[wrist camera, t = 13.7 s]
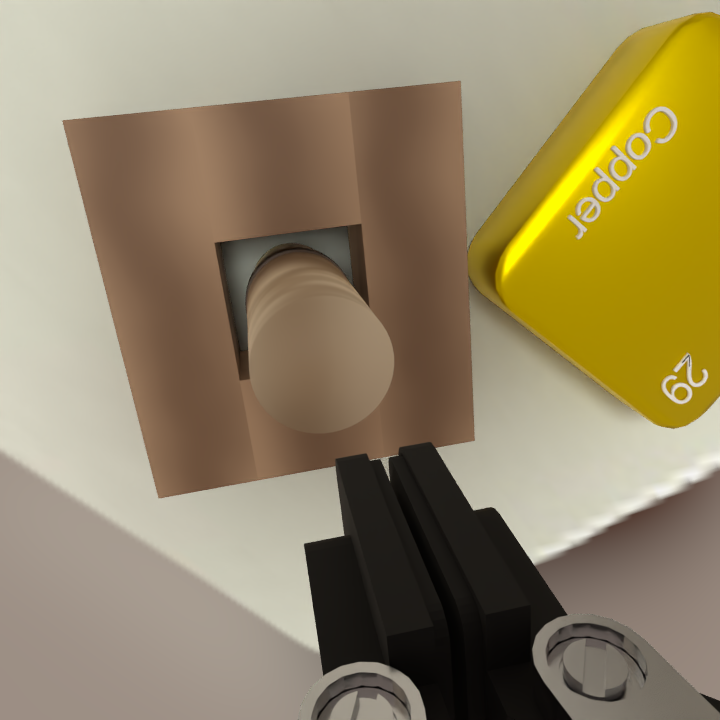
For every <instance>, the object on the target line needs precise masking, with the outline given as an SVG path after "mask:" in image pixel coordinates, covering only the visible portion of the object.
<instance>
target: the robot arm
mask: <svg viewBox="0 0 720 720" xmlns="http://www.w3.org/2000/svg"><path fill="white" fill-rule="evenodd" d="M335 466H336V474H337V481H338V489H339V497H340V504H341V512H342V520H343V527H344V535H345V536H341V537H336V538H331V539H326V540H321V541H316V542H311V543H306V544H304V548H305V554H306V561H307V568H308V575H309V582H310V588H311V595H312V602H313V609H314V615H315V622H316V629H317V636H318V642H319V649H320V656H321V663H322V670H323V677H322V678H321V679H320V680H319V681H317V682H316V683H315V684H314V685H313V686H312V687H311V688H310V690H309V692H308V693H307V695H306V697H305V698H304V700H303V702H302V704H301V708H300V712H299V717H298V720H720V701H719V700H716V699H713V698H711V697H708V696H706V695H703V694H701V693H699V692H698V691H697V690H696V689H695V688H694V687H692V685H690V683H688V682H687V681H686V680H685V679H684V678H683V677H682V676H681V675H680V674H679V673H678V672H677V671H676V670H675V669H674V668H673V667H672V666H671V665H670V664H669V663H668V662H667V661H666V660H665V659H664V658H663V657H662V656H661V655H660V654H659V653H658V652H657V651H656V650H655V649H654V648H653V647H652V646H651V645H650V644H649V643H648V642H647V641H646V640H645V639H643V638H642V637H641V636H640V635H638V634H637V633H636V632H634V631H633V630H632V629H631V628H629V627H627V626H625V625H623V624H621V623H619V622H617V621H614V620H613V619H609V618H605V617H601V616H597V615H593V614H572V615H567V614H566V612H565V611H564V609H563V608H562V606H561V605H560V603H559V602H558V600H557V599H556V597H555V596H554V594H553V593H552V592H551V590H550V589H549V587H548V585H547V584H546V582H545V581H544V579H543V578H542V576H541V575H540V574H539V572H538V571H537V569H536V567H535V566H534V564H533V563H532V561H531V560H530V559H529V557H528V556H527V554H526V553H525V551H524V550H523V548H522V547H521V545H520V544H519V542H518V541H517V539H516V538H515V536H514V535H513V533H512V532H511V530H510V529H509V527H508V526H507V524H506V523H505V521H504V520H503V518H502V517H501V515H500V514H499V513H498V512H497V511H496V509H494V508H492V507H490V508H484V509H479V510H474V511H473V509H472V508H471V506H470V504H469V503H468V501H467V499H466V498H465V496H464V495H463V493H462V491H461V490H460V488H459V486H458V485H457V483H456V481H455V480H454V478H453V477H452V475H451V473H450V472H449V470H448V468H447V467H446V465H445V463H444V462H443V460H442V458H441V457H440V455H439V454H438V452H437V450H436V449H435V447H434V445H433V444H432V443H431V442H426V443H420V444H415V445H409V446H403V447H399V452H398V456H395V457H389V474H390V481H389V479H388V476H387V474H386V471H385V469H384V467H383V464H382V462H381V460H380V459H378V460H373V461H370V460H369V457H368V455H367V453H364V454H359V455H353V456H347V457H342V458H336V459H335Z"/></svg>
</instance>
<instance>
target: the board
mask: <svg viewBox="0 0 720 720" xmlns="http://www.w3.org/2000/svg"><path fill="white" fill-rule="evenodd" d="M63 125H64V129H65V133H66V137H67V141H68V145H69V148H70V152H71V156H72V160H73V164H74V168H75V172H76V176H77V180H78V184H79V188H80V192H81V196H82V199H83V203H84V207H85V211H86V215H87V219H88V223H89V227H90V231H91V235H92V239H93V243H94V247H95V251H96V254H97V258H98V262H99V266H100V270H101V274H102V278H103V282H104V286H105V290H106V294H107V298H108V302H109V305H110V309H111V313H112V317H113V321H114V325H115V329H116V333H117V337H118V341H119V345H120V349H121V353H122V357H123V360H124V364H125V368H126V372H127V376H128V380H129V384H130V388H131V392H132V396H133V400H134V404H135V408H136V411H137V415H138V419H139V423H140V427H141V431H142V435H143V439H144V443H145V447H146V451H147V455H148V459H149V463H150V466H151V470H152V474H153V478H154V482H155V486H156V490H157V494H158V498H164V497H169V496H175V495H180V494H186V493H191V492H197V491H202V490H207V489H213V488H218V487H224V486H229V485H235V484H240V483H246V482H251V481H257V480H262V479H267V478H273V477H278V476H284V475H289V474H295V473H300V472H306V471H311V470H317V469H322V468H327V467H333V466H335V459H336V458H342V457H347V456H353V455H359V454H364V453H367V455H368V457H369V460H371V459H377V458H382V457H387V456H393V455H398V452H399V447H403V446H409V445H415V444H420V443H426V442H431V443H432V444H433V445H434V447H435V448H437V447H442V446H447V445H453V444H458V443H464V442H469V441H475V438H474V412H473V387H472V361H471V335H470V310H469V284H468V258H467V232H466V207H465V181H464V155H463V130H462V104H461V81H455V82H445V83H435V84H425V85H415V86H405V87H395V88H384V89H374V90H364V91H354V92H344V93H334V94H324V95H314V96H304V97H294V98H284V99H274V100H264V101H254V102H244V103H234V104H224V105H213V106H203V107H193V108H183V109H173V110H163V111H153V112H143V113H133V114H123V115H113V116H103V117H93V118H83V119H73V120H63ZM340 226H347V228H348V238H349V247H350V256H351V266H352V275H353V284H354V289H355V290H356V291H357V292H358V294H359V295H360V296H361V298H362V299H363V300H364V301H365V303H366V304H367V305H368V307H369V308H370V309H371V310H372V312H373V313H374V314H375V316H376V317H377V318H378V320H379V321H380V322H381V323H382V325H383V326H384V328H385V330H386V331H387V333H388V335H389V338H390V340H391V343H392V347H393V352H394V371H393V377H392V381H391V384H390V386H389V389H388V391H387V393H386V395H385V396H384V398H383V400H382V401H381V402H380V404H379V405H378V406H377V407H376V408H375V410H374V411H373V412H372V413H371V414H369V415H368V416H367V417H366V418H364V419H363V420H361V421H360V422H358V423H357V424H355V425H353V426H351V427H348V428H346V429H343V430H340V431H336V432H331V433H306V432H301V431H297V430H294V429H292V428H289V427H287V426H285V425H283V424H281V423H279V422H278V421H277V420H275V419H274V418H273V417H271V416H270V415H269V414H268V413H267V412H266V411H265V409H264V408H263V407H262V406H261V404H260V403H259V401H258V399H257V398H256V396H255V393H254V391H253V389H252V385H251V381H250V374H249V353H248V350H247V351H240V349H239V344H238V338H237V333H236V327H235V322H234V316H233V311H232V305H231V300H230V294H229V289H228V283H227V278H226V272H225V267H224V261H223V256H222V250H221V244H220V242H224V241H232V240H239V239H247V238H255V237H263V236H270V235H278V234H286V233H293V232H301V231H309V230H317V229H324V228H332V227H340Z"/></svg>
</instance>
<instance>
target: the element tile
mask: <svg viewBox="0 0 720 720" xmlns="http://www.w3.org/2000/svg"><path fill="white" fill-rule="evenodd" d="M467 258H468V275H469V277H470V279H471V281H472V283H473V285H474V286H475V287H476V288H477V289H478V291H479V292H480V293H481V294H483V295H484V296H485V297H486V298H488V299H489V300H490V301H492V302H493V303H494V304H496V305H497V306H498V307H499V308H501V309H502V310H503V311H505V312H506V313H507V314H508V315H510V316H511V317H512V318H514V319H515V320H516V321H517V322H519V323H520V324H521V325H523V326H524V327H525V328H526V329H528V330H529V331H530V332H532V333H533V334H534V335H536V336H537V337H538V338H539V339H541V340H542V341H543V342H545V343H546V344H547V345H548V346H550V347H551V348H552V349H554V350H555V351H556V352H557V353H559V354H560V355H561V356H563V357H564V358H565V359H567V360H568V361H569V362H570V363H572V364H573V365H574V366H576V367H577V368H578V369H579V370H581V371H582V372H583V373H585V374H586V375H587V376H588V377H590V378H591V379H592V380H594V381H595V382H596V383H597V384H599V385H600V386H601V387H603V388H604V389H605V390H607V391H608V392H609V393H610V394H612V395H613V396H614V397H616V398H617V399H618V400H620V401H621V402H623V403H624V404H626V405H627V406H629V407H630V408H632V409H633V410H635V411H636V412H637V413H639V414H640V415H642V416H643V417H645V418H646V419H648V420H649V421H651V422H652V423H653V424H656V425H658V426H661V427H667V428H673V429H674V428H679V427H683V426H686V425H688V424H690V423H691V422H693V421H695V420H696V419H698V418H699V417H700V416H701V415H703V414H704V413H705V412H706V411H707V410H708V409H709V408H710V407H711V405H712V404H713V403H714V402H715V401H716V400H717V399H718V398H719V396H720V15H718V14H715V13H713V12H705V13H697V14H692V15H689V16H685V17H681V18H678V19H674V20H671V21H667V22H663V23H660V24H656V25H653V26H649V27H645V28H642V29H641V30H639V31H637V32H636V33H634V34H632V35H631V36H629V37H628V38H627V39H626V40H625V41H624V42H623V43H622V44H621V45H620V46H619V47H618V48H617V49H616V50H615V52H614V53H613V54H612V56H611V57H610V58H609V60H608V61H607V62H606V64H605V65H604V66H603V68H602V69H601V70H600V72H599V73H598V74H597V76H596V77H595V78H594V79H593V81H592V82H591V83H590V85H589V86H588V87H587V89H586V90H585V91H584V93H583V94H582V95H581V97H580V98H579V99H578V101H577V102H576V103H575V104H574V106H573V107H572V108H571V110H570V111H569V112H568V114H567V115H566V116H565V118H564V119H563V120H562V122H561V123H560V124H559V126H558V127H557V128H556V130H555V131H554V132H553V133H552V135H551V136H550V137H549V139H548V140H547V141H546V143H545V144H544V145H543V147H542V148H541V149H540V151H539V152H538V153H537V155H536V156H535V157H534V158H533V160H532V161H531V162H530V164H529V165H528V166H527V168H526V169H525V170H524V172H523V173H522V174H521V176H520V177H519V178H518V180H517V181H516V182H515V184H514V185H513V186H512V187H511V189H510V190H509V191H508V193H507V194H506V195H505V197H504V198H503V199H502V201H501V202H500V203H499V205H498V206H497V207H496V209H495V210H494V211H493V212H492V214H491V215H490V216H489V218H488V219H487V220H486V222H485V223H484V224H483V226H482V227H481V228H480V230H479V231H478V232H477V234H476V235H475V237H474V239H473V241H472V243H471V244H470V248H469V251H468V255H467Z"/></svg>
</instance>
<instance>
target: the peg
mask: <svg viewBox="0 0 720 720" xmlns="http://www.w3.org/2000/svg"><path fill="white" fill-rule="evenodd" d="M245 305H246V314H247V326H248V353H249V374H250V381H251V385H252V389H253V391H254V393H255V396H256V398H257V399H258V401H259V403H260V404H261V406H262V407H263V408H264V409H265V411H266V412H267V413H268V414H269V415H270V416H271V417H273V418H274V419H275V420H277V421H278V422H279V423H281V424H283V425H285V426H287V427H289V428H292V429H294V430H297V431H301V432H306V433H331V432H336V431H340V430H343V429H346V428H348V427H351V426H353V425H355V424H357V423H358V422H360V421H361V420H363V419H364V418H366V417H367V416H368V415H369V414H371V413H372V412H373V411H374V410H375V408H376V407H377V406H378V405H379V404H380V402H381V401H382V400H383V398H384V396H385V395H386V393H387V391H388V389H389V386H390V384H391V381H392V377H393V371H394V352H393V347H392V343H391V340H390V338H389V335H388V333H387V331H386V330H385V328H384V326H383V325H382V323H381V322H380V321H379V320H378V318H377V317H376V316H375V314H374V313H373V312H372V310H371V309H370V308H369V307H368V305H367V304H366V303H365V301H364V300H363V299H362V298H361V296H360V295H359V294H358V292H357V291H356V290H355V289H354V287H353V286H352V285H351V283H350V282H349V281H348V279H347V277H346V276H345V274H344V273H343V271H342V270H341V269H340V267H339V266H338V265H337V264H336V263H335V262H334V261H333V260H331V259H330V258H329V257H327V256H326V255H324V254H323V253H321V252H319V251H316V250H313V249H312V248H310V247H308V246H305V245H302V244H298V243H286V244H281V245H278V246H276V247H274V248H272V249H270V250H269V251H267V252H266V253H265V254H264V255H263V256H262V257H261V258H260V260H259V261H258V263H257V265H256V267H255V269H254V271H253V273H252V275H251V277H250V280H249V283H248V286H247V290H246V299H245Z"/></svg>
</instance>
